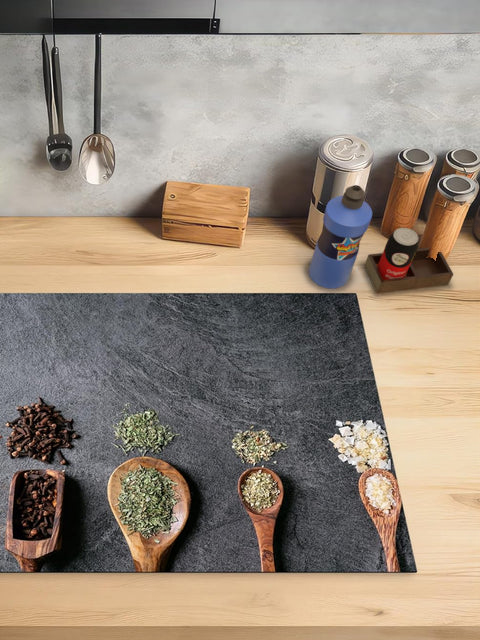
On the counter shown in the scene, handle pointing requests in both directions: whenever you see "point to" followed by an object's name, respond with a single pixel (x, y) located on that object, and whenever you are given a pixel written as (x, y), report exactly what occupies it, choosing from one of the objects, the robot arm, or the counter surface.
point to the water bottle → (340, 238)
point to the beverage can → (398, 254)
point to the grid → (411, 273)
